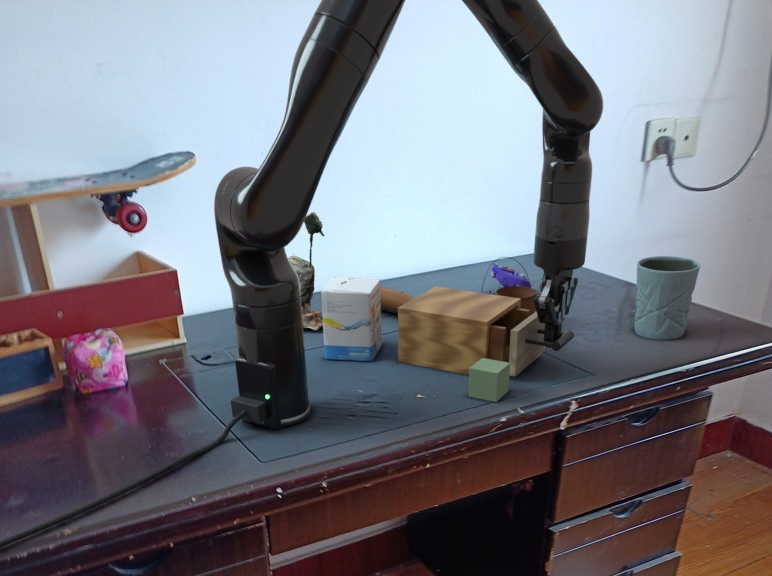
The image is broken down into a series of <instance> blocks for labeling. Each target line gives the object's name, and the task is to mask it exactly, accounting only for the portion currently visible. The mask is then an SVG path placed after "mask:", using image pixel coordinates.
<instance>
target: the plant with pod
mask: <svg viewBox="0 0 772 576" xmlns="http://www.w3.org/2000/svg"><path fill="white" fill-rule="evenodd" d="M303 224H304V226H305V229H306V232H307V234H309V243H310V245H309V261H308V260H305V259H304V258H301V257H299V256H297V255H295V253H293V255H290V256H289V257H287V258H288V260H289V262H290V264H291V266H292V267H293V269H294V270H295V272H296V273H297V275H298V278H299V283H300V296H301V307H302V321H303V329H307V328H309V329H311V330H313V331H318V330H320V329H321V328H322V327H323V315H322V311H319V310H311V309H310V307H311V301H312V298H313V296H314V292H315V281H316V279H315V277H316V274H315V273H316V271H315V267H314V265H313V264H312V263H313V261H312V255H313V254H312V252H313V251H312V248H313V241H314V235H315V234H320V235H321V237H325V234H324V233H323V230H322V229H323V222H322V221H321V219H320V217H319V216H318V215H317V213H316V212H314V211H312V212H310V213H309V214H307V215H306V218H305V220H304V222H303Z"/></svg>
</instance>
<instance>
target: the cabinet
mask: <svg viewBox="0 0 772 576" xmlns="http://www.w3.org/2000/svg"><path fill="white" fill-rule="evenodd" d="M520 303H521V299H520V298H513V297H506V296H499V295H496V294H491V293H490V294H486V293H485V292H483V293H482V292H477V291H471V290H465V289H464V290H462V289H456V288H449V287H442V286H433V288H431V289H428V290H427V291H425V292H423V293H421V294H419V295H418V296H416V297H414V299H413V300H411V301H409V302H407V303H405V304H404V305H402V306H400V307H398V314H397V340H398V343H397V345H398V363H403V364H409V365H414V366H420V367H424V368H430V369H436V370H439V371H445V372H450V373H456V374H460V375H466V376H469V368H470V367H471V366H472V365H474V364H475V363H476V362H478V361H479V360H480V359H482V358H485V359H488V341H489V325H491V324H492V323H494V322H495V321H496V320H498V319H499V318H501V317H502V316H504V315H505V314H506V313H508V312H509V311H511V310H512V309H513V308H520Z"/></svg>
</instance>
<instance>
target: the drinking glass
mask: <svg viewBox="0 0 772 576" xmlns="http://www.w3.org/2000/svg"><path fill="white" fill-rule="evenodd" d="M700 267H701V264H700V263H699V261H697V260H695V259H691V258H688V257H684V256H683V257H682V256H672V255H671V256H670V255H660V256H650V257H644V258H642V259H640V260H638V261H637V264H636V294H635V314H634V332H635V334H636V335H638V336H640V337H643V338H645V339H651V340H658V341H670V340H676V339H679V338H681V337H683V336H684V334H685V332H686V326H687V323H688V317H689V316H688V314H689V312H690V309H691V306H692V305H691V304H692V301H693V293H694V291H695V288H696V285H697V280H698V276H699V272H700Z"/></svg>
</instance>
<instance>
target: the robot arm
mask: <svg viewBox="0 0 772 576" xmlns="http://www.w3.org/2000/svg"><path fill="white" fill-rule="evenodd" d="M461 2H462V3H463V4H464V5H465V6H466V8H467V9H468V10H469V11H470V13H471V14H472V15H473V16H474V18H475V20H476V21H477V22H478V23H479V25H480V26H481V27H482V28H483V30H484V32H486V34H487V36H488V37H489V38H490V40H491V42H492V43H493V45H495V47H496V48H497V49H498V52H500V54H501V55H502V57H503V58H504V59H505V61H506V62H507V64H508V65H509V66H510V69H512V71H513V72H514V73H515V74H516V75H517V77H519V79H520V80H522V81H523V82H524V83H525V84H526V85H527V87H528V88H529V89H530V91H531V92H532V94H533V96H534V98H535V99H536V100H537V102H538V103H539V105H540V107H541V108H542V117H541V118H542V122H541V124H542V125H541V128H542V129H541V130H542V135H541V136H542V155H543V156H542V168H541V175H540V186H539V187H540V188H539V202H538V207H537V211H536V219H535V230H534V231H535V233H534V246H533V247H534V248H533V264H534V266H536V267H537V268H539V269H541V270H542V271H543V274H542V278H540V279H541V280H540V283H539V291H540V292H541V294H540V295H537V296H535V297H534V305H535V309H536V312H537V316H538V319H539V323H544V324H545V332H544V341H547V342H554V341H556V340H557V339H558V338H559V337H560V336H561V332H562V327H563V323H564V321H565V319H566V316H568V315H569V313H570V309H571V305H572V302H573V299H574V296H575V293H576V289H577V286H578V283H579V278H578V277H574V276H573V274H574V270H578V269H580V268H582V267H583V266H584V265H585V263H586V255H587V245H588V235H589V225H590V217H591V216H590V212H591V211H590V199H591V190H592V180H593V162H592V158H591V154H590V143H591V132H592V131H593V130H594V129H595V128H596V127H597V125H598V124H599V122H600V120H601V118H602V115H603V112H604V97H603V94H602V91H601V89H600V87H599V86H598V84H597V83H596V81H595V79H594V78H593V77H592V75H591V74H590V73H589V72H588V70H587V69H586V68H585V66H584V65H583V64H582V62H581V61H580V60H579V59H578V57H577V56H576V55H575V54H574V53H573V52H572V51H571V49H570V48H569V47H568V46H567V44H566V43H565V41H564V40H563V38H562V36H561V34H560V32H559V30H558V28H557V27H556V25H555V24H554V22H553V20H551V18H550V16H549V15H548V13H547V12H546V10H545V9H544V8H543V6H542V4H541V3H540V2H539V0H461ZM405 3H406V0H321V1H320V3H319V4H318V6H317V8H316V10H315V11H314V13H313V16H312V18H311V20H310V22H309V24H308V26H307V28H306V30H305V32H304V34H303V36H302V37H301V40H300V41H299V44H298V46H297V49H296V52H295V55H294V57H293V61H292V65H291V70H290V74H289V75H290V76H289V82H288V92H287V98H286V99H287V100H286V107H285V111H284V116H283V120H282V123H281V125H280V128H279V131H278V133H277V135H276V138H274V141H273V143H272V145H271V147H270V148H269V150H268V153H267V154H266V156H265V158H264V160H263V161H262V163H261V164H260V166H259V168H258V167H254V166H238V167H236V168H233V169H231V170H229V171H228V172H227V173H225V174H224V176H223V177H222V178H221V180H220V181H219V183H218V184H217V187H216V190H215V193H214V200H213V201H214V203H213V211H214V212H213V213H214V223H215V228H216V236H217V241H218V248H219V253H220V259H221V265H222V270H223V273H224V277H225V279H226V281H227V283H228V286H229V289H230V293H231V294H230V295H231V301H232V309H233V316H234V324H235V325H234V326H235V333H236V341H237V348H238V357H236V358H235V360H234V365H235V372H236V380H237V388H238V396H236V397H234V398H232V399H230V406H231V413H232V419H231V420H230V421H229V423H228V424H227V425H226V426H225V428H224V429H223V432H222V433H221V435H220V436H219V437H217V439H215V440H214V441H213V442H211V443H210V444H208V445H205V446H203V447H201V448H198V449H196V450H193V451H190V452H189V453H186V454H185V455H182V456H181V457H179V458H176V459H175V460H174V461H172V462H170V463H168V464H166V465H164V466H162V467H160V468H159V469H156V470H154V471H153V472H151V473H149V474H147V475H145V476H143V477H141V478H139V479H137V480H135V481H133V482H130V483H129V484H127V485H125V486H123V487H121V488H119V489H116V490H114V491H112V492H111V493H108V494H106V495H103V496H102V497H99V498H97V499H95V500H93V501H90V502H89V503H87V504H84V505H82V506H80V507H78V508H75V509H73V510H71V511H68V512H66V513H63V514H62V515H59V516H56V517H54V518H52V519H50V520H47V521H45V522H42V523H40V524H37V525H35V526H33V527H30V528H28V529H25V530H23V531H20V532H18V533H16V534H13V535H11V536H8V537H5V538H3V539H0V548H2V547H5V546H7V545H10V544H12V543H15V542H17V541H19V540H22V539H25V538H27V537H29V536H31V535H34V534H36V533H38V532H41V531H43V530H46V529H49V528H51V527H53V526H56V525H58V524H60V523H62V522H65V521H67V520H69V519H72V518H73V517H76V516H78V515H82V514H83V513H85V512H87V511H90V510H91V509H94V508H96V507H98V506H100V505H102V504H105V503H107V502H109V501H111V500H113V499H116V498H118V497H119V496H122V495H123V494H125V493H128V492H130V491H131V490H133V489H136V488H138V487H140V486H141V485H143V484H145V483H148V482H150V481H152V480H153V479H155V478H157V477H159V476H161V475H163V474H164V473H166V472H168V471H171V470H172V469H174V468H176V467H177V466H179V465H181V464H183V463H184V462H186V461H189V460H190V459H193V458H194V457H196V456H200V455H203V454H204V453H207V452H209V451H210V450H212V449H213V448H216V447H217V446H219V445H220V444H221V443H222V442H224V440H225V439H227V437H228V436H229V433H230V432H231V430H232V429H233V427H234V426H235V425H236V424H237V423H238V422H239V421H240V420H242V422H244V423H247V424H251V425H256V426H259V427H262V428H263V427H264V428H267V429H271V430H279V429H280V428H282V427H287V426H292V425H296V424H299V423H301V422H303V421H305V420H306V419H307V418H309V416H310V415H311V404H310V399H309V385H308V373H307V360H306V348H305V334H304V327H303V321H302V307H301V296H300V283H299V278H298V275H297V273H296V272H295V270H294V269H293V267H292V266H291V264H290V262H289V260H288V258H289V257H288V256H287V252H286V247H287V246H288V245H289V244H290V243H292V242H293V240H294V239H296V237H297V235H298V234H299V232H300V231H301V228H302V227H303V224H304V220H305V218H306V216H307V215H308V213H309V211H310V208H311V205H312V202H313V200H314V198H315V195H316V192H317V189H318V187H319V185H320V181H321V180H322V176H323V173H324V171H325V169H326V167H327V164H328V162H329V159H330V157H331V155H332V154H333V151H334V149H335V147H336V145H337V144H338V141H339V139H340V138H341V136H342V134H343V132H344V130H345V127H346V125H347V123H348V121H349V119H350V117H351V116H352V113H353V112H354V109H355V107H356V105H357V103H358V102H359V99H360V97H361V95H362V94H363V93H364V91H365V89H366V87H367V85H368V84H369V81H370V79H371V78H372V76H373V73H374V71H375V70H376V67H377V66H378V64H379V61H380V59H381V58H382V55H383V53H384V51H385V48H386V46H387V44H388V42H389V39H390V38H391V35H392V33H393V31H394V29H395V26H396V24H397V22H398V19H399V17H400V15H401V13H402V10H403V7H404V5H405ZM544 348H548V349H552V347H547V346H544Z"/></svg>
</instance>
